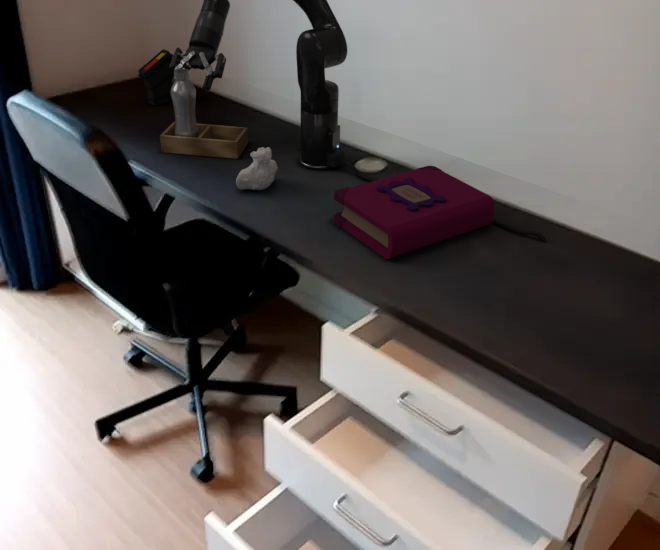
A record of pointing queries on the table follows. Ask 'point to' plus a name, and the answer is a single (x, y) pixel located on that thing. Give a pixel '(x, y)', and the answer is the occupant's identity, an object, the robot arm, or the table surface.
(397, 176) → the book
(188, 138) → the brown open rectangular box
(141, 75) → the magazine
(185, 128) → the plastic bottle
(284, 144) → the table surface
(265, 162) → the bust
